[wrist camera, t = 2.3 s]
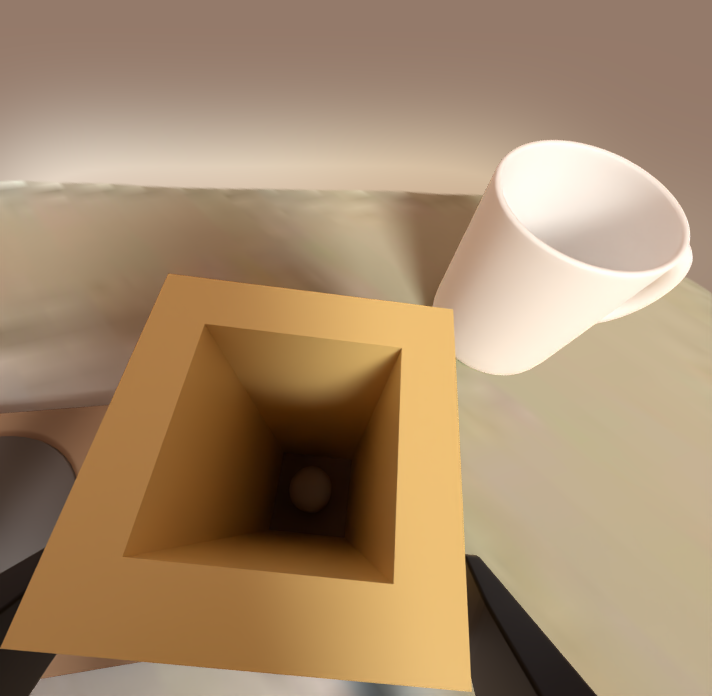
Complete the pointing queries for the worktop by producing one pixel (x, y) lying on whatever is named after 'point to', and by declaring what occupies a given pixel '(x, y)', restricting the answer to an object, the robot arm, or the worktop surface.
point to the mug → (559, 253)
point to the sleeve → (267, 496)
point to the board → (64, 460)
